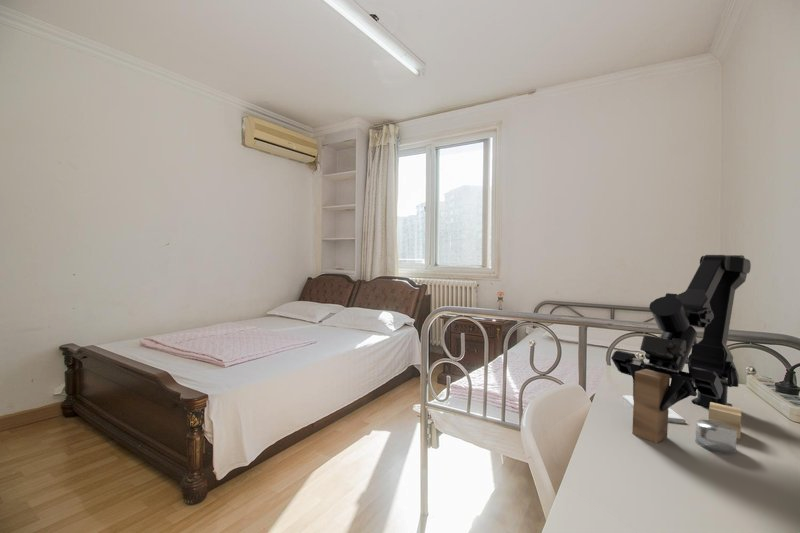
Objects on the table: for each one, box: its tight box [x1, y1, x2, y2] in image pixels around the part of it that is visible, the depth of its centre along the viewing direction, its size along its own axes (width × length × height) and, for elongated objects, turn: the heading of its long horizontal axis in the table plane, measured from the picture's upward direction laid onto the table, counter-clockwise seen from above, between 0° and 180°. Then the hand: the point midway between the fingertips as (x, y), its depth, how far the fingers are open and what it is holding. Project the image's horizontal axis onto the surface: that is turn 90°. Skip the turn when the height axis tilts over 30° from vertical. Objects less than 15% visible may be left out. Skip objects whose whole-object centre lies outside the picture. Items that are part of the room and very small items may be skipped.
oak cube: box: [708, 402, 742, 440], centre depth 76 cm, size 5×5×5 cm
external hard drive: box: [622, 394, 687, 424], centre depth 86 cm, size 2×8×12 cm
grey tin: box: [694, 419, 738, 456], centre depth 70 cm, size 6×6×4 cm
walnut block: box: [631, 369, 671, 444], centre depth 73 cm, size 4×4×13 cm
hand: (647, 405), depth 72 cm, fingers closed on walnut block, 4 cm apart
